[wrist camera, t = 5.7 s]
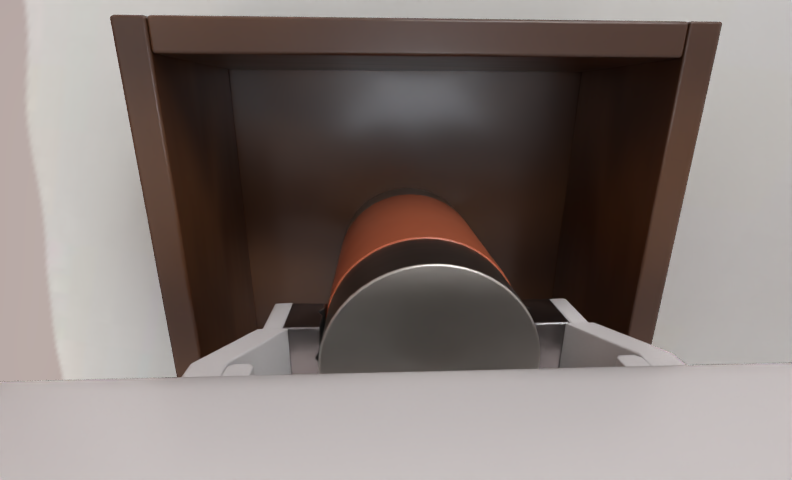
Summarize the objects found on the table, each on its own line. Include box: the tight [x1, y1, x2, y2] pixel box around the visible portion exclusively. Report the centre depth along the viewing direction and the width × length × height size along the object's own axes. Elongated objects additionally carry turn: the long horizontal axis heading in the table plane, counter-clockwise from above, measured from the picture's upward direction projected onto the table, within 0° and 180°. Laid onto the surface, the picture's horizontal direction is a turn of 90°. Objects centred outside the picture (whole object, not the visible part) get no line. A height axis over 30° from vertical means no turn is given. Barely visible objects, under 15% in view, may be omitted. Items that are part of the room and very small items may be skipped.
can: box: [318, 188, 540, 374], centre depth 15 cm, size 6×6×9 cm
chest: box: [110, 15, 722, 377], centre depth 17 cm, size 17×16×7 cm
